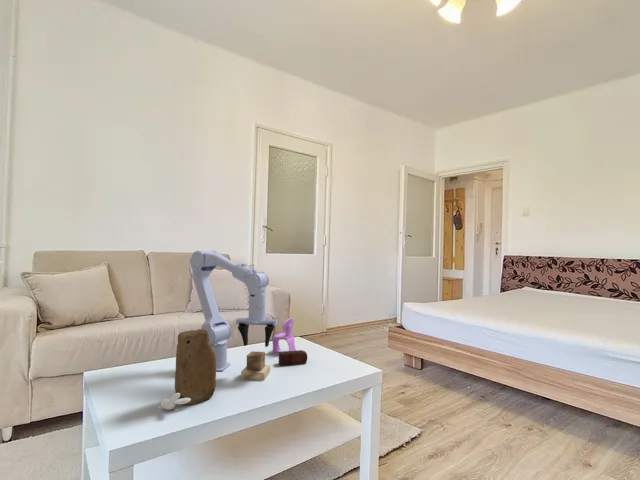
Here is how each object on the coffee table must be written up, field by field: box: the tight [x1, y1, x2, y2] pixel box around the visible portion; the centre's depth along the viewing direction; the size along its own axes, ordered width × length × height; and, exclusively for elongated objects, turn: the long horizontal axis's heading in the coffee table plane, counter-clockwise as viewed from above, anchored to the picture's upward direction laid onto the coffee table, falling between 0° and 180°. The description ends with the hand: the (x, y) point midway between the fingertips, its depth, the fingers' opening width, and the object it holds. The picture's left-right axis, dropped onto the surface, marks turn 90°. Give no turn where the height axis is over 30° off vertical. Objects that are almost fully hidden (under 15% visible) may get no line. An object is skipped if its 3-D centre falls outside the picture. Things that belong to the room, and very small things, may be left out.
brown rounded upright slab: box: [174, 328, 217, 405], centre depth 103 cm, size 11×8×20 cm
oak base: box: [240, 364, 271, 381], centre depth 122 cm, size 8×8×3 cm
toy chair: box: [272, 317, 297, 354], centre depth 150 cm, size 8×9×15 cm
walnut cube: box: [246, 350, 266, 371], centre depth 122 cm, size 5×5×5 cm
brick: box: [278, 349, 308, 367], centre depth 135 cm, size 11×4×5 cm, turn 109°
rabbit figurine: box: [157, 393, 191, 413], centre depth 95 cm, size 6×4×8 cm
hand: (256, 345), depth 123 cm, fingers open, 7 cm apart
